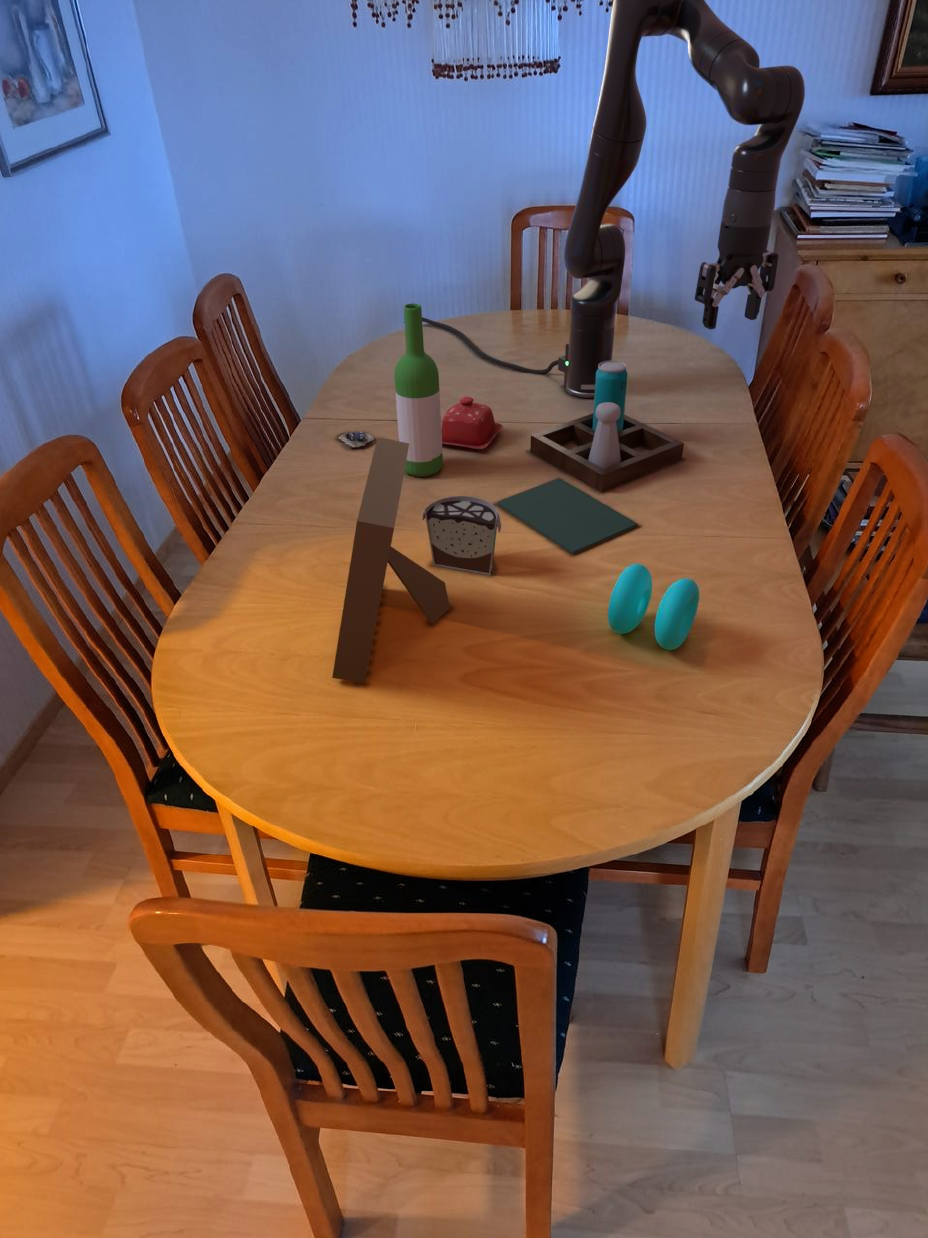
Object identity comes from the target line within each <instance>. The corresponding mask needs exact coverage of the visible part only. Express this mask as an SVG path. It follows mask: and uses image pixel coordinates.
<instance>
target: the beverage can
mask: <svg viewBox="0 0 928 1238" xmlns="http://www.w3.org/2000/svg"><path fill="white" fill-rule="evenodd" d="M627 384H628V371H627V364H626V363H625V362H623V361H619V360H612V361H604V362H601V363H599V365H598V370H597V372H596V382H595V397H594V398H593V399H594V400H593V428H592V429H593V430H595V431H596V427H597V423H598V419H597V418H596V415H595V412H596V408H597V406H598V405H599V404H601V403H605V402H611V403H615V404H617V405H618V406H619V407H620V410H621V413H620V417H619V419H618V420H616V426H617V432H620V431H623V420H624V414H625V408H626V398H627V397H626V395H627Z"/></svg>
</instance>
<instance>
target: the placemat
mask: <svg viewBox="0 0 928 1238" xmlns="http://www.w3.org/2000/svg"><path fill="white" fill-rule="evenodd" d="M496 505H497V506H499V507H500V508H501V509H503V510H505V511H506V512H507V513H509V514H510V515H512V516H513V517H515V518H517V519H518V520H519V521H521V522H523V523H524V524H526V525H527V526H529V527H530V528H532V529H533V530H535V531H536V532H538V533H539V534H541V535H542V536H544V537H545V538H547V539H549V540H550V541H551V542H553V543H554V544H556V545H558V546H559V547H561V548H562V549H563V550H565V551H567V552H568V553H570V554H571V555H576V554H578V553H580V552H582V551H585V550H588V549H590V548H592V547H594V546H597V545H599V544H600V543H603V542H605V541H608V540H610V539H612V538H614V537H616V536H619V535H621V534H624V533H626V532H628V531H631V530H633V529H635V528H637V527H638V525H639V524H638V522H636V521H635V520H632V519H631V518H629V517H628V516H626V515H624V514H623V513H620V512H619V511H617V510H616V509H613V508H612V507H610V506H609V505H607V504H605V503H604V502H601V501H600V500H598V499H596V498H594V497H593V496H591V495H590V494H588V493H586V492H585V491H583V490H581V489H579V488H577V487H576V486H574V485H572V484H571V483H570V482H568V481H565V480H564V479H562V478H561V477H558V478H554V479H552V480H550V481H547V482H544V483H542V484H540V485H537V486H534V487H532V488H529V489H527V490H524V491H522V492H519V493H516V494H513V495H511V496H508V497H506V498H504V499H501V500H498V501H496Z"/></svg>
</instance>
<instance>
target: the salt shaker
mask: <svg viewBox="0 0 928 1238" xmlns="http://www.w3.org/2000/svg"><path fill="white" fill-rule="evenodd" d="M620 413H621V410H620V407H619V406H618V405H617V404H615V403H611V402H605V403H601V404H599V405H598V406H597V408H596V412H595V415H596V418H597V419H598V423H597V427H596V431H595V435H594V439H593V443H592V447H591V451H590V455H589V459H588V461H590V462H592V463H593V464H595V465H597V466H599V467H601V468H603V469H605V468H608V467H610V466H613V465H615V464H618V463H620V462H621V456H620V449H619V441H618V433H617V426H616V420H618V419H619V417H620Z"/></svg>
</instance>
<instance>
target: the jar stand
mask: <svg viewBox="0 0 928 1238" xmlns="http://www.w3.org/2000/svg"><path fill="white" fill-rule="evenodd" d="M593 413H594V412H593ZM593 413H592V412H591V413H589V414H587V415H583V416H581V417H578V418H576V419H573V420H569V421H567V422H564V423H561V424H558V425H556V426H552V427H550V428H547V429H543V430H541V431H539V432H536V433H533V434H531V435H530V453H531V454H533V455H535V456H537V457H539V458H540V459H541V460H544V461H545V462H547V463H549V464H551V465H553V466H554V467H556V468H558V469H559V470H561V471H563V472H564V473H567V474H568V475H570V476H572V477H574V478H575V479H577V480H579V481H581V482H582V483H584V484H585V485H587V486H589V487H591V488H593V489H594V490H596V491H598V492H600V493H604V492H607V491H609V490H613V489H614V488H617V487H619V486H621V485H624V484H626V483H629V482H631V481H634V480H636V479H639V478H642V477H644V476H646V475H648V474H651V473H653V472H656V471H658V470H660V469H661V470H662V469H664V468H666V467H668V466H671V465H673V464H676V463H678V462H681V461H682V460H683V455H684V450H685V449H684V447H685V442H684V441H681V440H679V439H677V438H675V437H673V436H671V435H669V434H667V433H664V432H663V431H660V430H659V429H656V428H654V427H652V426H650V425H648V424H645V423H644V422H642V421H639V420H637V419H635V418H633V417H631V416H628V415H626V414H625V413H624V420H623V431H620V432H617V433H618V441H619V449H620V456H621V462H620V463H618V464H615V465H613V466H610V467H608V468H605V469H603V468H601V467H599V466H597V465H595V464H593V463H592V462H590V461H588V459H589V455H590V451H591V447H592V443H593V439H594V435H595V430H593V429H592V428H593ZM572 442H573V443H575V444H577V445H579V446H577V447H574V448H571V449H569V448H566V447H564V446H563V445H567V444H570V443H572ZM638 446H643V448H647V449H648V450H649V451H646V452H644V453H641V452H639V451H636V450H634V449H633V448H636V447H638Z"/></svg>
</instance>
